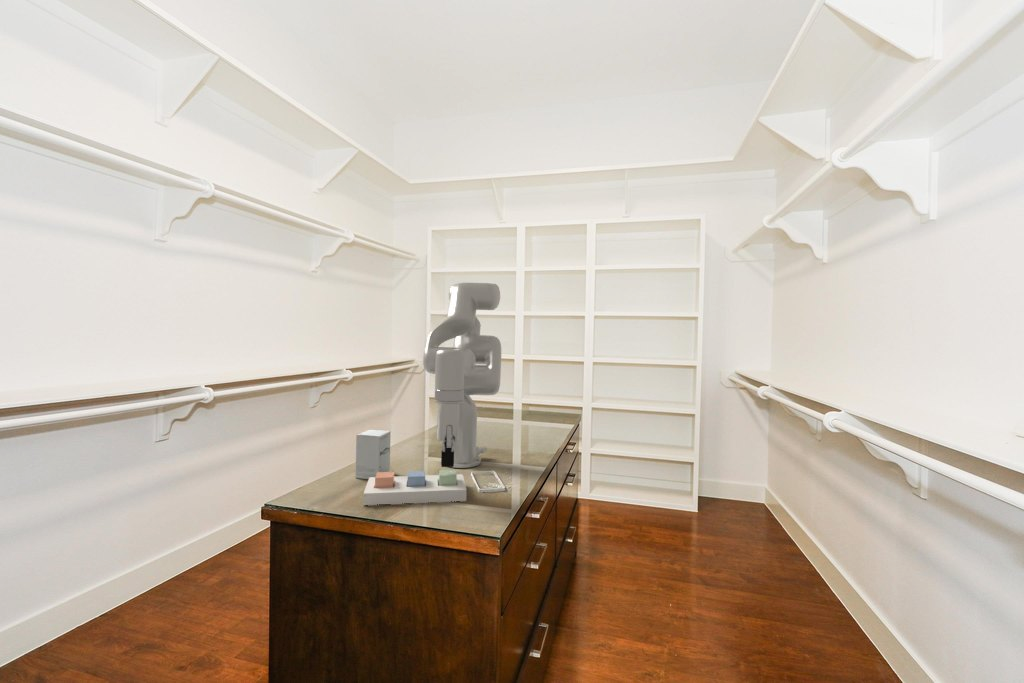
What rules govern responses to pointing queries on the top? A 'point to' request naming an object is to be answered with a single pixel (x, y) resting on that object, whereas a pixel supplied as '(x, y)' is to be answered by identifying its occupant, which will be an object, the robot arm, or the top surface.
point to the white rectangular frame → (491, 488)
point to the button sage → (447, 477)
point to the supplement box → (372, 453)
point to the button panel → (415, 491)
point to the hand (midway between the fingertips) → (447, 466)
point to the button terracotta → (384, 480)
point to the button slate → (416, 478)
